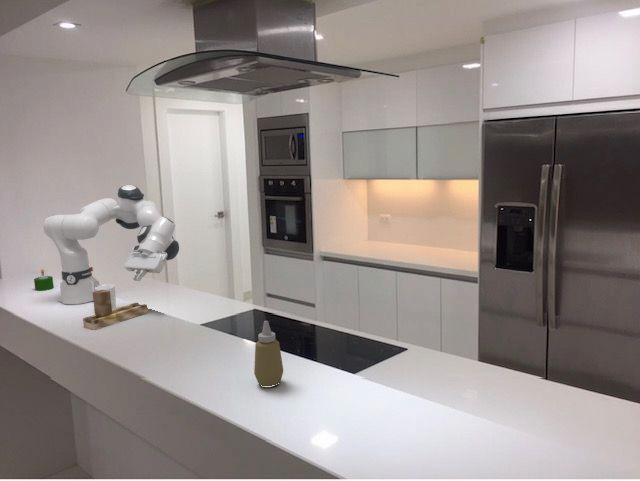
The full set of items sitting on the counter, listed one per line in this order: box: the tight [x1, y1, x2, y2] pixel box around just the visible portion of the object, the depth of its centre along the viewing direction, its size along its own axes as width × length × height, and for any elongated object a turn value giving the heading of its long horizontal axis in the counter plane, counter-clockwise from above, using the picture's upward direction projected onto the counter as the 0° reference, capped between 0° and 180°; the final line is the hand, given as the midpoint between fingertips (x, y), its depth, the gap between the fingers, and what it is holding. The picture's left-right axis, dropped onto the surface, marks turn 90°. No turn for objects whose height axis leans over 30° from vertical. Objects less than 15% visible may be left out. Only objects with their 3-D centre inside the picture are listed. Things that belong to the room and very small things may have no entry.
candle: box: [33, 268, 55, 292], centre depth 270 cm, size 8×8×10 cm
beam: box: [82, 302, 149, 331], centre depth 215 cm, size 24×7×4 cm, turn 145°
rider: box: [93, 290, 112, 318], centre depth 209 cm, size 4×4×10 cm
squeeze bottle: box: [253, 320, 284, 386], centre depth 149 cm, size 8×8×18 cm
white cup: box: [95, 284, 117, 309], centre depth 229 cm, size 8×8×10 cm
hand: (136, 280), depth 220 cm, fingers closed
